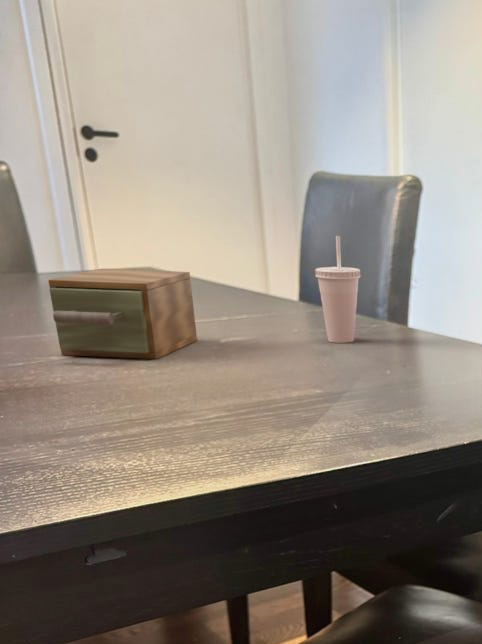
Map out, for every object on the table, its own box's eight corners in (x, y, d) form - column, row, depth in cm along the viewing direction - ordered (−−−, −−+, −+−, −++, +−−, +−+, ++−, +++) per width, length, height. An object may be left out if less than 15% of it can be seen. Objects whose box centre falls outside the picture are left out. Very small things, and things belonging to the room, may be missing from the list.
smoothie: (328, 345, 129) (322, 237, 122) (312, 338, 133) (306, 234, 127) (370, 342, 131) (366, 237, 125) (353, 335, 136) (349, 233, 130)
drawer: (132, 359, 111) (123, 296, 108) (42, 355, 112) (30, 292, 109) (186, 336, 127) (180, 280, 124) (107, 332, 128) (98, 277, 125)
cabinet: (156, 359, 117) (146, 283, 112) (61, 354, 117) (47, 279, 113) (197, 340, 130) (189, 271, 125) (111, 336, 130) (101, 268, 126)
